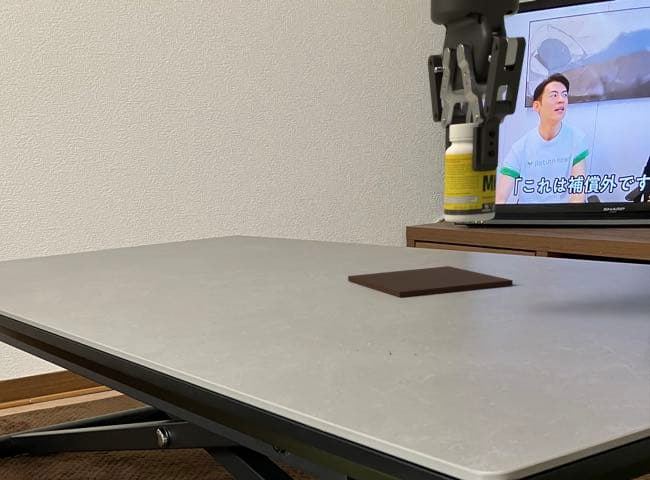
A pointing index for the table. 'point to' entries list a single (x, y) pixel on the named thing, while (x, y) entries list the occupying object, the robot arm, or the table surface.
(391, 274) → the mat
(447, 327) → the table surface
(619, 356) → the table surface
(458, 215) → the supplement bottle
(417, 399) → the table surface
